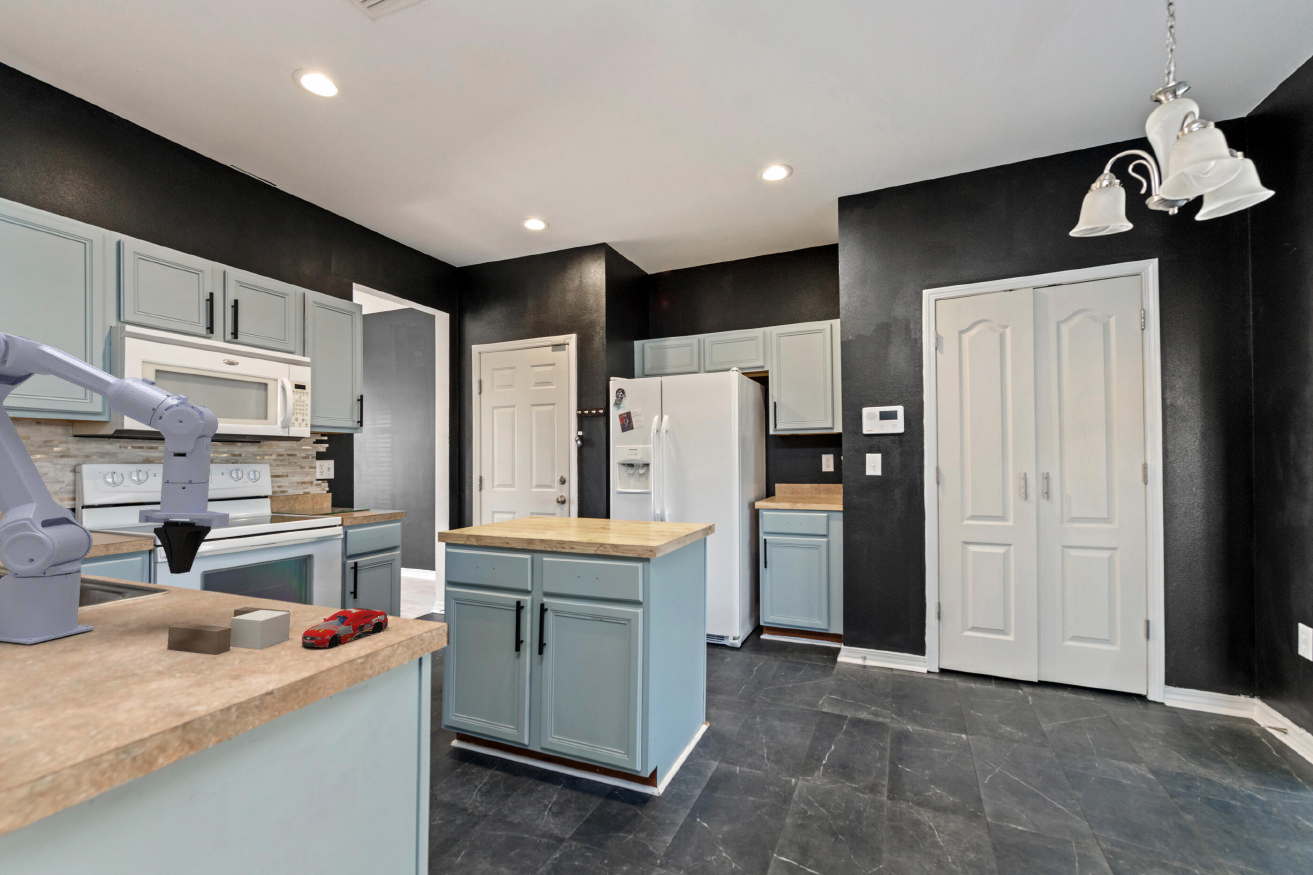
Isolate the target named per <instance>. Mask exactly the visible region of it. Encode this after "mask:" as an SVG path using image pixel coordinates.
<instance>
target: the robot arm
mask: <svg viewBox="0 0 1313 875" xmlns="http://www.w3.org/2000/svg"><path fill="white" fill-rule="evenodd" d="M36 374H37V375H41V376H49V375H51V376H55V377H57V378H59V379H62V380H64V381H67V382H69V383H71V384H73V385H76V386H79V387H81V388H84V389H86V390H88V391H91V392H93V393H95V394H97V395H100V396H102V397H104V398H106V401H107V405H108V406H109V408H110V409H111V411H114V412H115V413H118V414H121V415H123V416H125V417H127V418H129V419H132V420H133V421H136V422H139V423H140V424H143V425H145V426H147V427H149V428H151V429H154V430H159V433H160V434H161V435H162V436H163V437H164V447H163V448H164V451H163V456H162V458H163V459H162V461H163V462H162V476H161V488H160V504H159V505H160V506H159V509H155V508H154V509H153V508H152V509H139V511H138V523H139V524H146V523H149V524H150V523H152V524H163V525H162V526H158V527H153V534H154V535H155V536H156V538H157V539H158V541H159V542H160V544H161V547H162V549H163V551H164V554H165V558H166V560H167V565H168V569H169V572H170V574H172V575H174V574H175V575H180V574H185V573H190V572H191V570H192V566H193V564H194V562H195V559H196V557H197V554H198V551H199V549H200V547H201V545H202V544H203V542H204V540H205V539H206V537H207V536H208V535H209V534H210V532H211V531H212V528H221V527H222V528H223V527H229V525H230V513H229V512H218V511H211V510H208V505H209V504H208V503H209V490H210V489H209V488H210V475H211V474H210V472H211V457H212V456H211V455H212V453H211V448H212V446H211V445H212V437H213V436H214V435H215V434H216V432H217V430H218V429H219V420H218V417H217V415H216V413H214V412H213V411H212V410H210V408H207V407H206V406H205V405H202V404H191V403H188V400H189V397H187V396H185V395H183V394H178V395H175V394H173V393H171V392H169V391H168V390H165V389H162V388H161V387H159V386H156V384H157V381H156V380H153V379H151V378H148V377H142V378H139V377H138V376H137V377H136V376H131V377H126V378H118V377H116V376H115V375H113V374H110V373H108V372H106V371H104V370H102V369H100V368H99V367H97V366H94V365H92V364H90V363H88V362H86V361H84V360H82V359H80V358H78V357H76V356H74V355H72V354H70V353H69V352H67V351H64V350H62V349H60V348H57V347H54V346H51V345H48V344H44V343H41V342H37V341H35V340H32V339H31V338H28V337H24V336H21V335H13V334H11V333H7V332H3V331H0V514H1V516H2V517H1V519H0V562H1V563H2V565H3V567H4V568H6V569H7V570H9V573H8V574H5V575H4V576H2V577H1V578H0V642H7V643H17V644H25V645H31V644H37V643H41V642H42V643H43V642H45V641H50V640H54V639H58V638H62V637H66V636H67V637H68V636H70V635H75V634H79V633H84V632H89V631H92V630H94V625H87V624H85V625H84V624H79V610H80V609H79V608H80V596H81V595H80V592H81V581H82V580H81V577H82V560H83V559H84V558H86V557H87V556H88V555H89V553H91V550H92V548H93V546H94V545H93V543H94V540H93V535H92V533H91V532H90V530H89V529H88V528H87V527H86V526H83V525H82V524H81V523H80V522H78V521H77V520H76V519H75V518H74V516H73V514H72V512H71V511H70V510H69V509H67V508H65V507H63V506H62V505H61V504H59V503H58V502H57V501H55V500H54V498H53V497H52V495H51V492H50V491H49V489H48V487H47V485H46V484H45V482H44V480H43V477H42V475H41V473H40V472H39V470H38V468H37V466H36V465H35V462H34V461H33V459H32V457H31V455H30V453H29V451H28V449H27V447H26V446H25V444H24V442H23V440H22V438H21V436H20V435H19V432H18V430H17V429H16V427H15V425H14V423H13V422H12V419H11V417H10V415H9V414H8V412H7V410H6V409H5V406H4V401H5V400H6V399H7V398H8V396H9V395H10V394H11V392H12V391H13V392H14V391H15V389H17V388H18V387H20V386H21V385H22V384H24V383H25V382H26V381H28V380H30V378H32V377H33V376H35V375H36Z"/></svg>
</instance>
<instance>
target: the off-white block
mask: <svg viewBox="0 0 1313 875" xmlns="http://www.w3.org/2000/svg"><path fill="white" fill-rule="evenodd" d="M290 627H291V612H281V611H270V610H259V611H255V612H251V613H248V614H244V615H240V616H237V617H234V616H233V617H231V618H230V628H231V638H230V647H234V648H235V647H236V648H244V649H253V650H254V649H255V650H262V649H265V648H268V647H271V646H274V645H276V644H280V643H282V642H285V641H289V640H290V629H291V628H290Z"/></svg>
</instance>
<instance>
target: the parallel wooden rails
mask: <svg viewBox="0 0 1313 875" xmlns="http://www.w3.org/2000/svg"><path fill="white" fill-rule="evenodd" d="M259 610H270V611H281V612H290V610H287V609H286V610H285V609H284V610H283V609H273V608H263V607H262V608H261V607H251V606H250V607H249V606H244V607H240V608H236V609H233V617H237V616H240V615H244V614H248V613H251V612H255V611H259ZM290 613H291V612H290ZM167 632H168V634H167V648H166V649H167V650H174V651H180V652H181V651H184V652H190V653H198V654H208V655H218V654H219V655H220V654H222V653H225V652H228V651H230V650H231V646H230V638H231V627H230V626H229V627H228V626H217V625H207V624H198V623H197V624H196V623H187V622H186V623H185V622H182V623H178V624H174V625H170V626H168V631H167Z"/></svg>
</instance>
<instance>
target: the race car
mask: <svg viewBox="0 0 1313 875" xmlns="http://www.w3.org/2000/svg"><path fill="white" fill-rule="evenodd" d="M378 616H379V617H378ZM322 620H323V621H322V622H320V623H318V624H316V625H313V626H311V627H309V628H308V629H306V630H304V632H303V633H302V636H301V645H302V646H304V647H309V648H329V649H333V648H336V647H339V646H340V645H341V644H344V643H348V642H350V641H354V640H357V639H361V638H363V637H367V636H369V635H376V634H380V633H381V632H382V631H383V630H385V629H386V628H387V627H388V624H389V618H388V616H387V613H386V611H385V610H379V609H370V608H362V607H354V608H353V607H352V608H348V609H347V608H346V609H343V610H339V611H337V612H335V613H334V614H332V615H330V616H328V618H327V617H326V618H323V619H322Z"/></svg>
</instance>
